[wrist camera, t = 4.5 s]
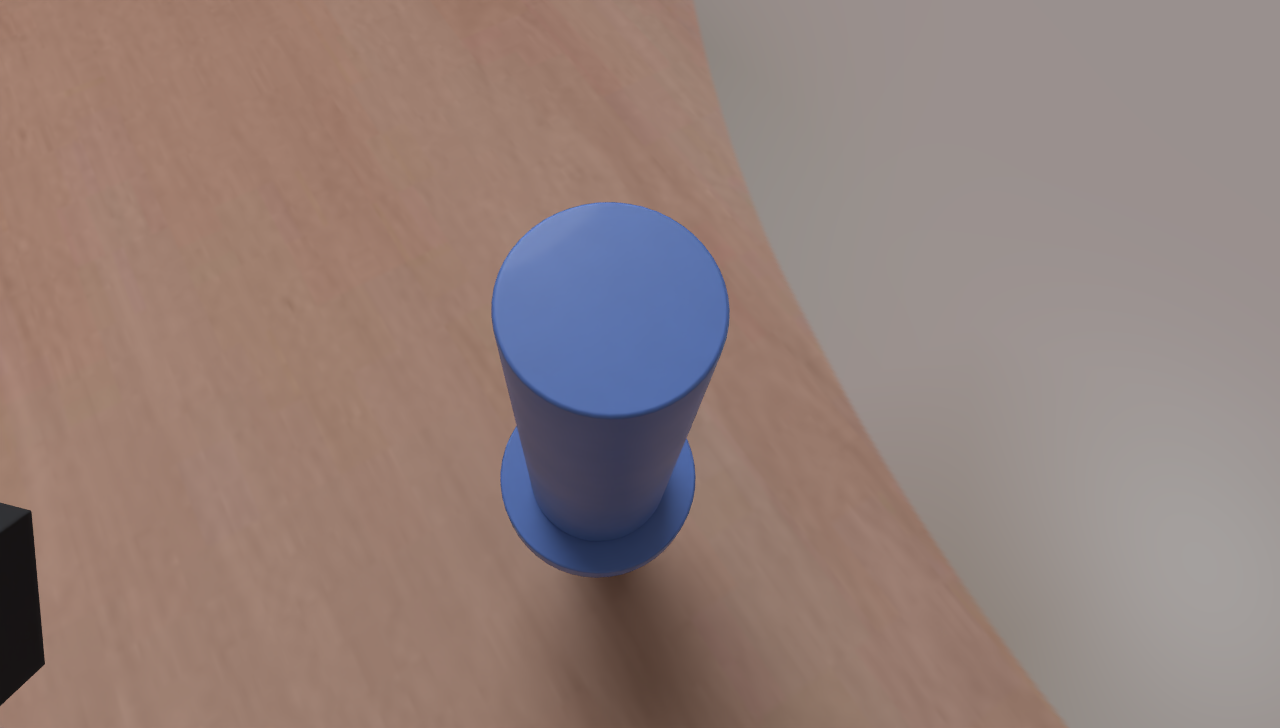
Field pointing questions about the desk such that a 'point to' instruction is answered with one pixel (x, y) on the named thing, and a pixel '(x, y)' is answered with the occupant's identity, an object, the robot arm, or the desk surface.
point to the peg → (605, 382)
